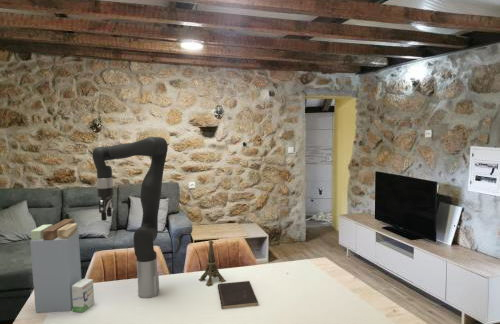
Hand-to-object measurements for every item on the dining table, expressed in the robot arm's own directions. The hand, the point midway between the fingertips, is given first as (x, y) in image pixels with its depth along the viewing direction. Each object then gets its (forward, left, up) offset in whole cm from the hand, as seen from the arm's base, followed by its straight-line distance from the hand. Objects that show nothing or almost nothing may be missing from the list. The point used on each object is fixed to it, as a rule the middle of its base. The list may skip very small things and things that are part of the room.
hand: (106, 218), depth 185 cm
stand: (+16, +21, -34) cm, 43 cm away
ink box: (+4, +25, -35) cm, 43 cm away
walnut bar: (+16, +16, -2) cm, 23 cm away
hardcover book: (-64, +21, -35) cm, 76 cm away
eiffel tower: (-52, +2, -35) cm, 62 cm away
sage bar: (+22, +21, -2) cm, 30 cm away
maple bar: (+11, +21, -2) cm, 23 cm away
